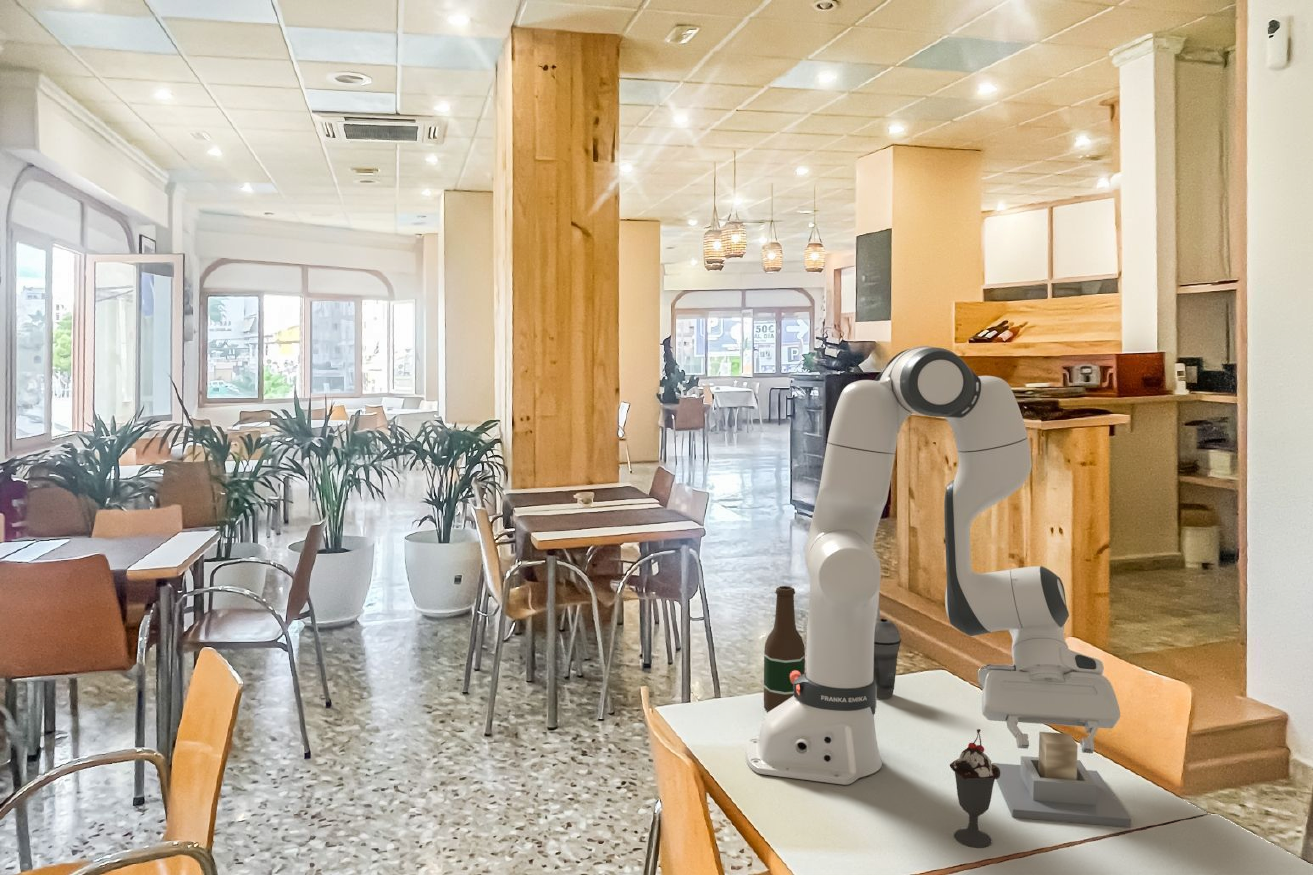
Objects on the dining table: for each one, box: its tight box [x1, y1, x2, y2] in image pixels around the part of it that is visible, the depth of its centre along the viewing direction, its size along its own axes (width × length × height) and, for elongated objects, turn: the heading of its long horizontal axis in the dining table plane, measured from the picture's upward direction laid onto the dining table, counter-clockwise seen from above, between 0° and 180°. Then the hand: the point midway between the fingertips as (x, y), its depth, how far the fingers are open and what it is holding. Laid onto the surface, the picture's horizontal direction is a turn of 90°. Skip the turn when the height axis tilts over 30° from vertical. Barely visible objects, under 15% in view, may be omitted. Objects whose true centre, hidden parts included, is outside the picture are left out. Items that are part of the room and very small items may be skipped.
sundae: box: [949, 728, 1000, 848], centre depth 125 cm, size 7×7×15 cm
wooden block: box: [1038, 731, 1079, 780], centre depth 137 cm, size 4×4×8 cm
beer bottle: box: [763, 585, 806, 713], centre depth 172 cm, size 8×8×24 cm
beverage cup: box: [873, 601, 902, 700], centre depth 181 cm, size 7×7×20 cm
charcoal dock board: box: [991, 755, 1132, 828], centre depth 138 cm, size 16×16×4 cm
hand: (1055, 749), depth 139 cm, fingers open, 8 cm apart
